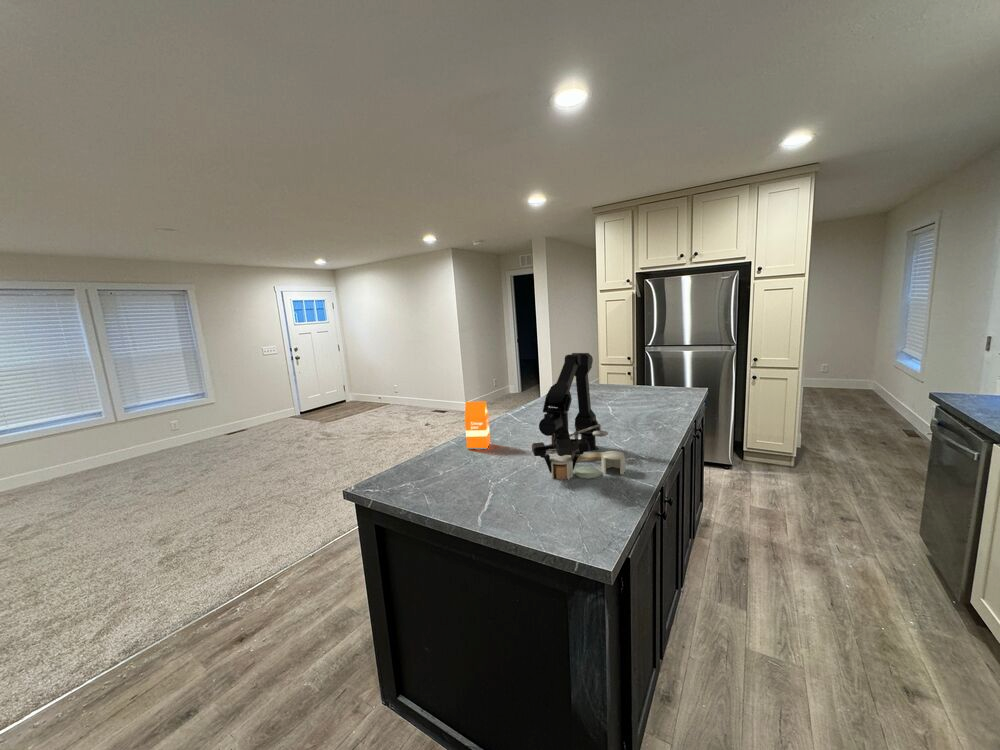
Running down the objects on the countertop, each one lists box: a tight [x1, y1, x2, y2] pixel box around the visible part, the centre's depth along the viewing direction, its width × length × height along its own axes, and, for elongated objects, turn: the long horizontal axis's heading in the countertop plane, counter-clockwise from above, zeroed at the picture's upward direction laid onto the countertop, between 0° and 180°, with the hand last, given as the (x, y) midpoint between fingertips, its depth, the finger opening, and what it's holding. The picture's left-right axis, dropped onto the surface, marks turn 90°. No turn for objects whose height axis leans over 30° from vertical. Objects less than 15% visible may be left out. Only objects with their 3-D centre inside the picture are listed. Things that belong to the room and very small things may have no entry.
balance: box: [548, 423, 609, 463], centre depth 149 cm, size 24×6×13 cm, turn 94°
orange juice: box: [464, 401, 491, 449], centre depth 170 cm, size 8×9×20 cm
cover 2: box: [601, 450, 626, 475], centre depth 137 cm, size 7×7×6 cm
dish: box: [574, 466, 602, 480], centre depth 137 cm, size 9×9×1 cm
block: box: [554, 464, 567, 480], centre depth 136 cm, size 4×4×4 cm
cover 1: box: [549, 455, 574, 481], centre depth 135 cm, size 7×7×6 cm
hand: (561, 471), depth 136 cm, fingers closed on cover 1, 7 cm apart
